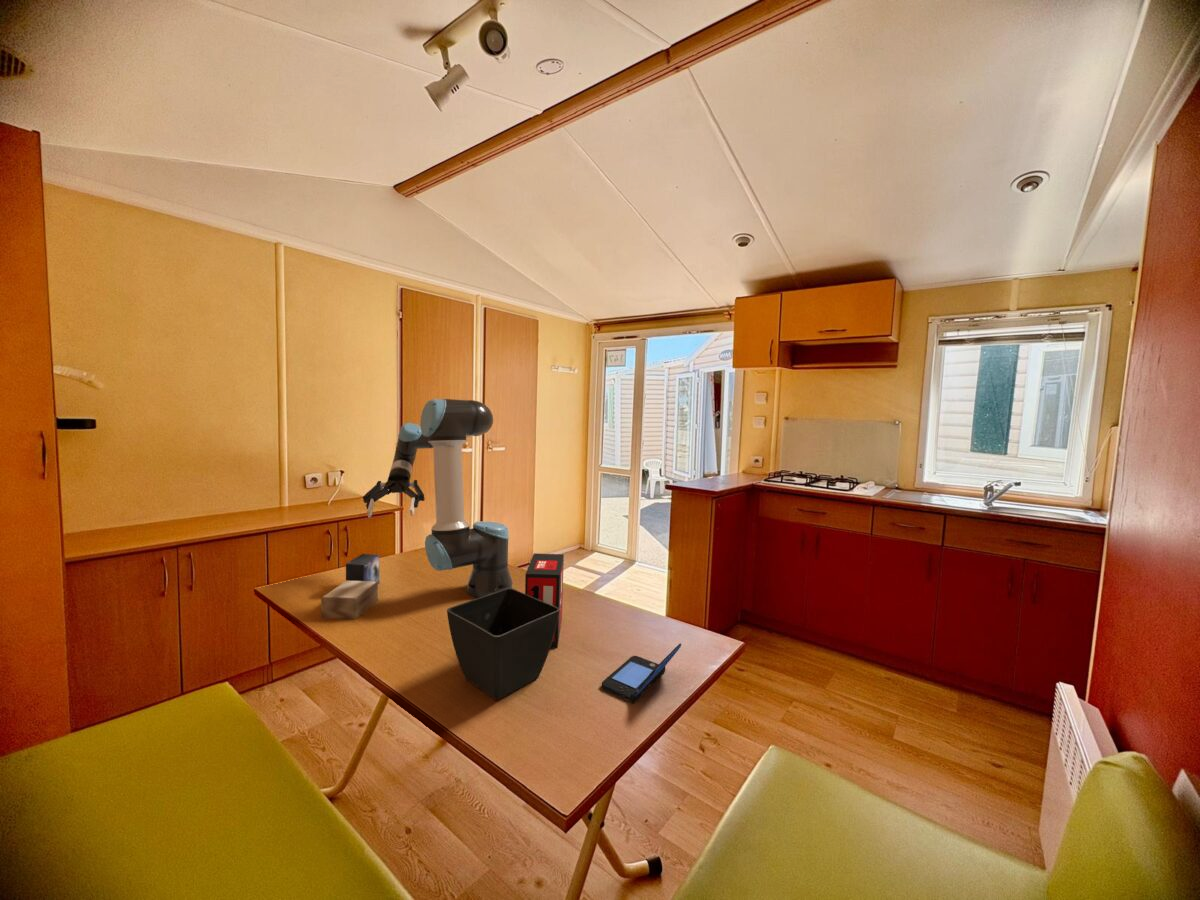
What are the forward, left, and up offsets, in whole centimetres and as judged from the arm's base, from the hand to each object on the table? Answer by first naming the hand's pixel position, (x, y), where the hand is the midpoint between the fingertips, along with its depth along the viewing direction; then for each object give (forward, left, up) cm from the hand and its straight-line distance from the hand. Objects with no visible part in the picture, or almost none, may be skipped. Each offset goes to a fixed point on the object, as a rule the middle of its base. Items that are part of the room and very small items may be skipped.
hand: (390, 513), depth 156 cm
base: (+3, +20, -25) cm, 32 cm away
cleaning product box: (-57, +30, -25) cm, 69 cm away
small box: (+7, +5, -25) cm, 27 cm away
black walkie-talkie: (-82, +52, -25) cm, 101 cm away
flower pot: (-50, +52, -25) cm, 76 cm away
